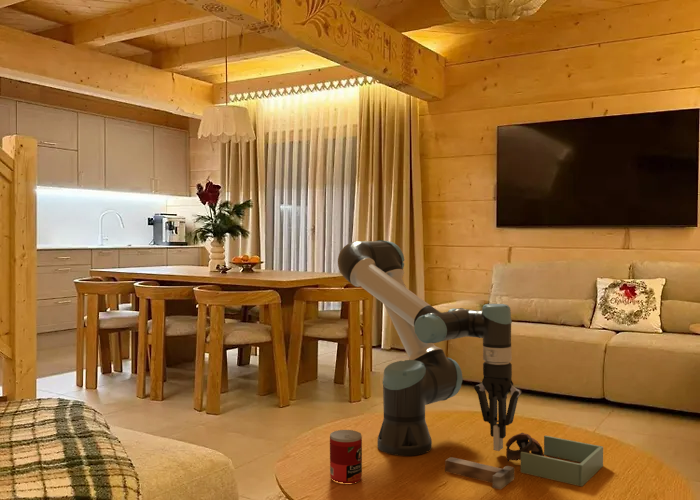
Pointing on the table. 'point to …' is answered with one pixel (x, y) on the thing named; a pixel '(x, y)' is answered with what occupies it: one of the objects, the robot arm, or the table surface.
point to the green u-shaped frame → (564, 469)
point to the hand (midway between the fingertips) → (498, 449)
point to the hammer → (480, 471)
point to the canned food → (346, 456)
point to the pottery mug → (523, 446)
